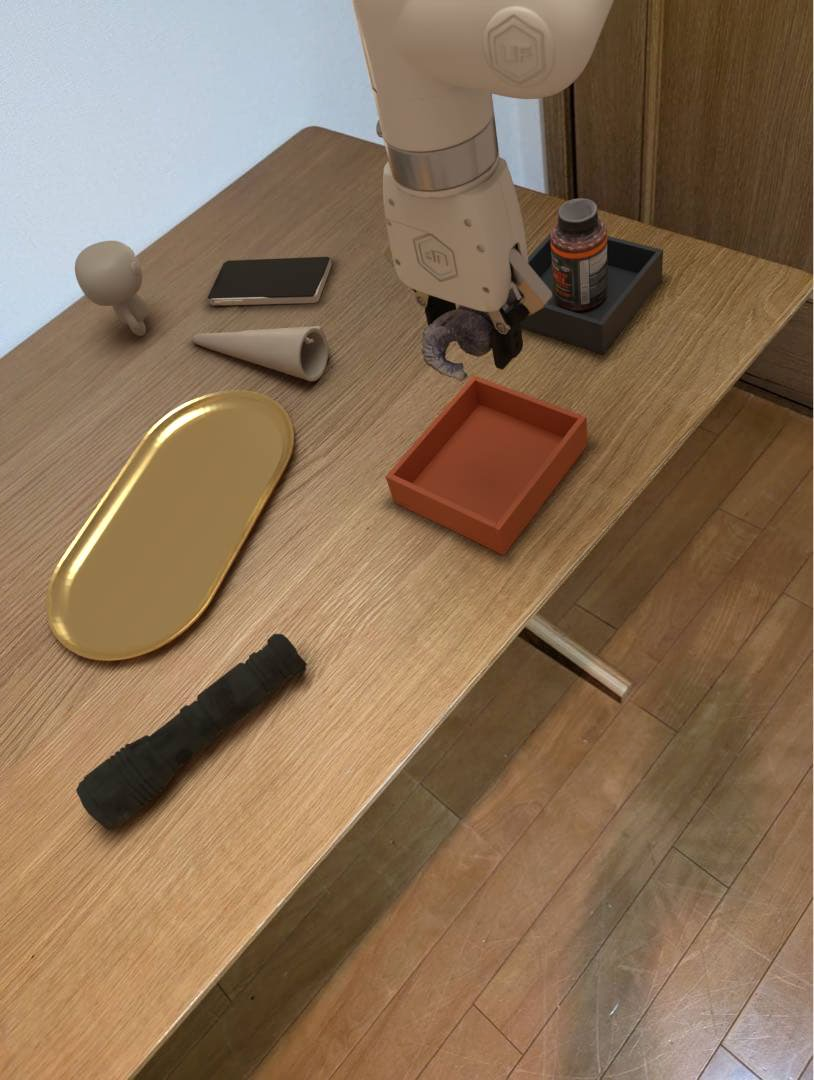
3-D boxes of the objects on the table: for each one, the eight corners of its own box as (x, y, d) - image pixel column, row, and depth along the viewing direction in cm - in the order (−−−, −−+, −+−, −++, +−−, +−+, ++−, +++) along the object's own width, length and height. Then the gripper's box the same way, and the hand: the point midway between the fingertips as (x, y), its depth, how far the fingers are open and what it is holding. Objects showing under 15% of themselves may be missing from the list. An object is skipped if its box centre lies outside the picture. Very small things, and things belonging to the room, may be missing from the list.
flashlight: (95, 796, 73) (65, 776, 69) (287, 644, 78) (269, 617, 74) (120, 840, 70) (90, 821, 66) (317, 679, 75) (301, 653, 71)
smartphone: (315, 297, 105) (205, 300, 109) (318, 304, 106) (209, 307, 110) (330, 255, 110) (224, 259, 113) (333, 263, 111) (228, 267, 114)
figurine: (174, 335, 108) (131, 256, 99) (119, 358, 108) (70, 281, 98) (162, 301, 113) (120, 222, 103) (109, 323, 113) (62, 246, 103)
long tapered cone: (158, 346, 101) (292, 350, 92) (187, 315, 104) (318, 316, 96) (179, 385, 105) (309, 392, 96) (205, 354, 108) (334, 358, 100)
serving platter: (18, 641, 84) (9, 633, 83) (187, 390, 101) (181, 380, 100) (172, 688, 78) (164, 680, 76) (325, 410, 95) (321, 401, 94)
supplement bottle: (543, 296, 98) (536, 209, 89) (585, 272, 99) (582, 184, 90) (575, 322, 94) (571, 234, 85) (618, 296, 95) (619, 207, 86)
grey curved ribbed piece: (444, 398, 72) (518, 330, 75) (467, 376, 67) (545, 304, 70) (401, 351, 71) (477, 285, 75) (421, 324, 66) (502, 254, 70)
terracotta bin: (587, 445, 84) (586, 416, 81) (503, 555, 79) (499, 530, 76) (478, 402, 91) (473, 374, 88) (393, 502, 85) (384, 476, 82)
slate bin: (662, 280, 96) (663, 249, 93) (602, 354, 91) (602, 325, 88) (560, 252, 102) (558, 223, 99) (500, 320, 98) (496, 292, 94)
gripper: (314, 154, 61) (373, 345, 75) (518, 205, 52) (540, 409, 67) (378, 98, 63) (423, 293, 78) (581, 138, 55) (589, 348, 69)
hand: (476, 345), depth 72 cm, fingers closed on grey curved ribbed piece, 5 cm apart
